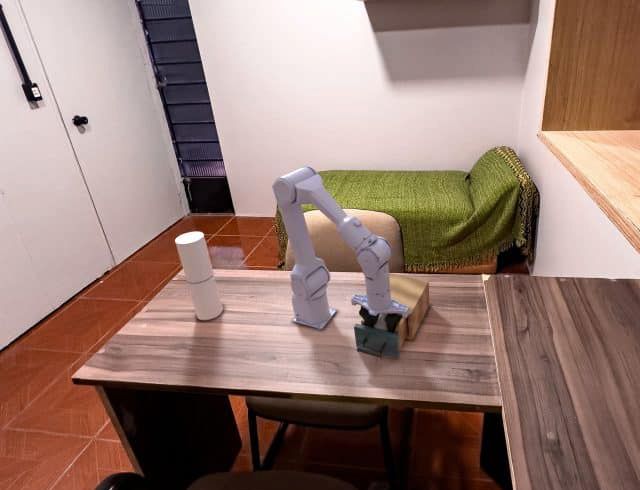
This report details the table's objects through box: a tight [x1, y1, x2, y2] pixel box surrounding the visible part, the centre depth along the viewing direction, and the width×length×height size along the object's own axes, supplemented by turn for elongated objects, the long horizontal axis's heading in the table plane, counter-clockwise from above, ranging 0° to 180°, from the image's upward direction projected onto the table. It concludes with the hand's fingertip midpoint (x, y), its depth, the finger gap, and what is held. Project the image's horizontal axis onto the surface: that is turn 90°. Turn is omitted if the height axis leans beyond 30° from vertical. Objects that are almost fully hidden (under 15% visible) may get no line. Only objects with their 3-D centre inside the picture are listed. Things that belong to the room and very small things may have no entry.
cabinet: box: [389, 272, 430, 341], centre depth 107 cm, size 15×13×9 cm
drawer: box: [353, 313, 409, 360], centre depth 98 cm, size 18×11×7 cm, turn 156°
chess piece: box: [374, 313, 388, 332], centre depth 97 cm, size 4×4×8 cm
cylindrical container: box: [174, 231, 224, 321], centre depth 111 cm, size 7×7×25 cm
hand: (382, 332), depth 97 cm, fingers closed on chess piece, 4 cm apart
